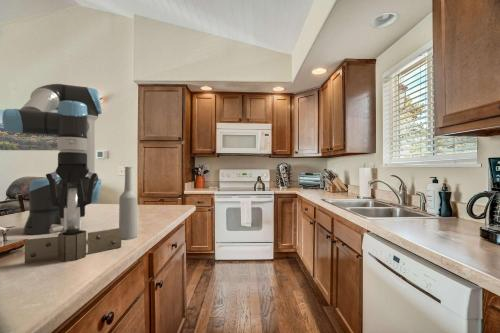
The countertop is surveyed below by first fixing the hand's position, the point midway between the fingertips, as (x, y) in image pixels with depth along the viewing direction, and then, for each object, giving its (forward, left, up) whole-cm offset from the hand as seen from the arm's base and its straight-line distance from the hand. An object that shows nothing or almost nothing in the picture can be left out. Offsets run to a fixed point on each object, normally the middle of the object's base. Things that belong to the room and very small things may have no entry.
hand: (72, 227), depth 81 cm
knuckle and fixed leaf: (0, -4, -9) cm, 10 cm away
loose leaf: (-3, +9, -9) cm, 13 cm away
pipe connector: (-23, -6, -9) cm, 25 cm away
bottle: (-18, +16, -9) cm, 26 cm away
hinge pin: (0, 0, -3) cm, 3 cm away
